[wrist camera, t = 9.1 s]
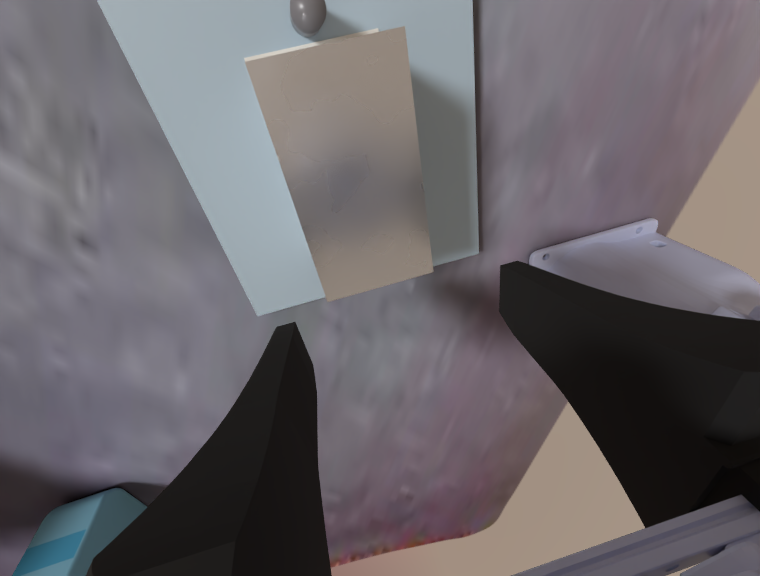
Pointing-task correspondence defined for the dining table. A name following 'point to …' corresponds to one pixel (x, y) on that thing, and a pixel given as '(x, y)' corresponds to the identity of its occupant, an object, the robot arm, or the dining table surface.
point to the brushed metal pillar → (350, 157)
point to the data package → (78, 534)
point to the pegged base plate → (251, 136)
